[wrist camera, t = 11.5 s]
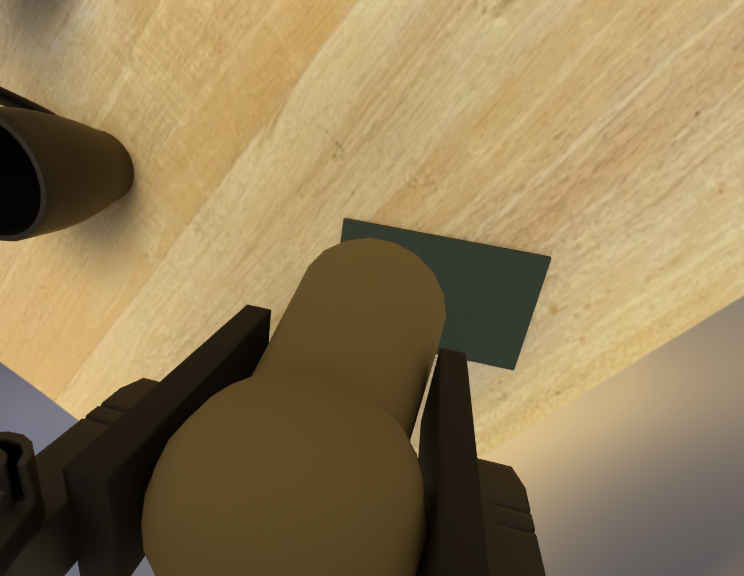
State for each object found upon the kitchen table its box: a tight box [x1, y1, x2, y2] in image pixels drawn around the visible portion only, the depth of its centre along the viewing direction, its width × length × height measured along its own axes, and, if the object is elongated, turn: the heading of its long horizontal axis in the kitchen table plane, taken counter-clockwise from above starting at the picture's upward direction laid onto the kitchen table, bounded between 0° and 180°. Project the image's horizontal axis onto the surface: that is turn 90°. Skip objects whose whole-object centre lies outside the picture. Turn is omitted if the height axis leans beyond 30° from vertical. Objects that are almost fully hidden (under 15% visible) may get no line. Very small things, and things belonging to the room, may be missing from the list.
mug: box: [0, 87, 133, 241], centre depth 29 cm, size 8×12×10 cm
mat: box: [341, 218, 551, 370], centre depth 33 cm, size 16×10×1 cm, turn 81°
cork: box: [141, 238, 446, 576], centre depth 11 cm, size 6×6×11 cm
